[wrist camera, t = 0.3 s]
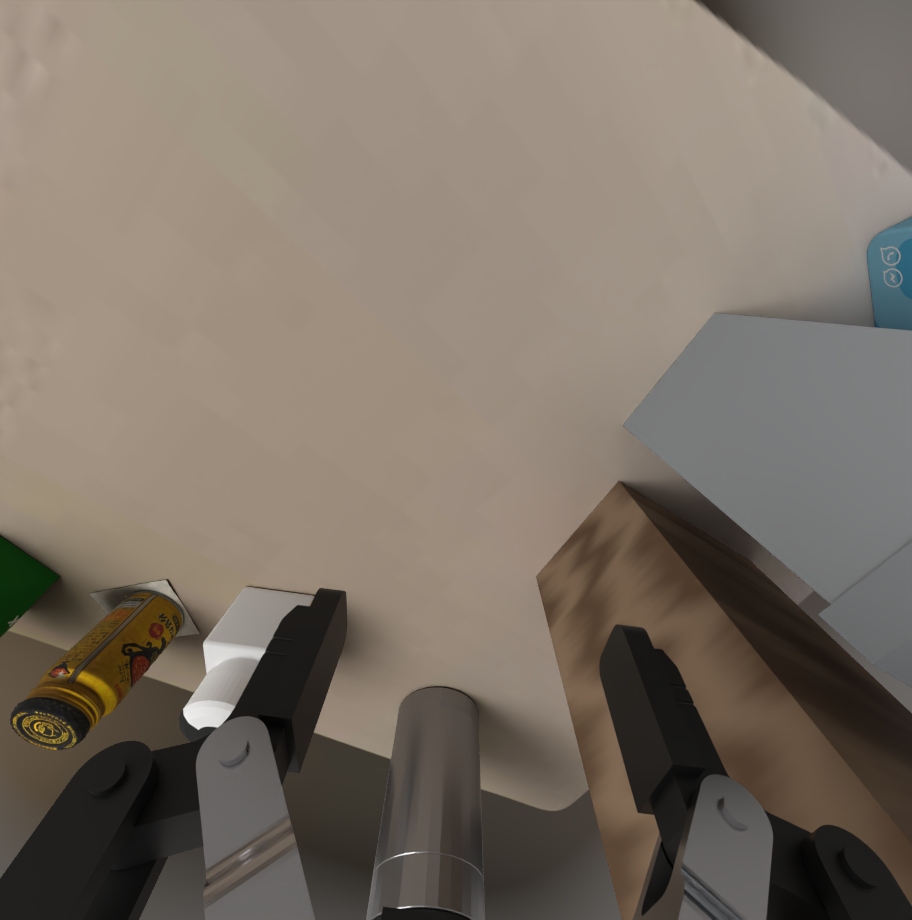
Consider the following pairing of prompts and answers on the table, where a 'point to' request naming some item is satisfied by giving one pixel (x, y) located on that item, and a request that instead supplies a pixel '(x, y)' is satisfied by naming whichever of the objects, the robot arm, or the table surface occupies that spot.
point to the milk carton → (19, 583)
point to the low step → (804, 459)
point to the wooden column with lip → (724, 686)
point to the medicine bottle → (235, 656)
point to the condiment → (102, 665)
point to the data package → (892, 276)
